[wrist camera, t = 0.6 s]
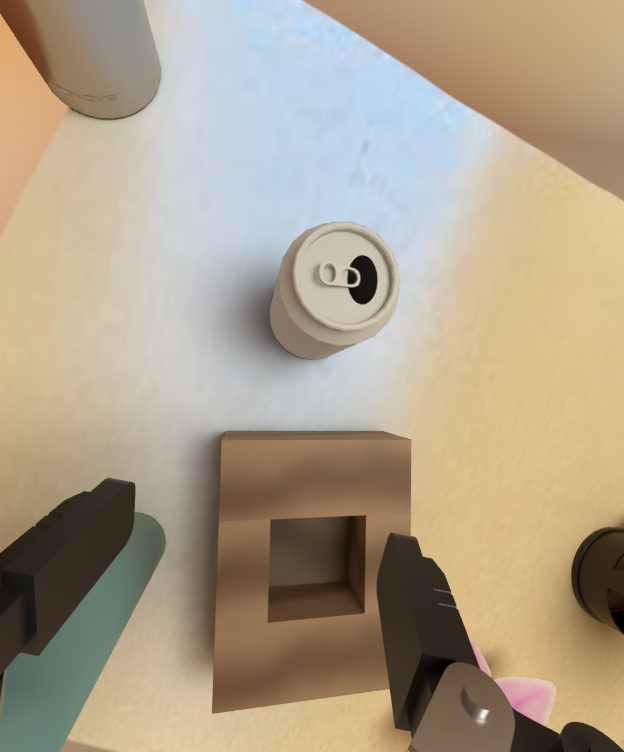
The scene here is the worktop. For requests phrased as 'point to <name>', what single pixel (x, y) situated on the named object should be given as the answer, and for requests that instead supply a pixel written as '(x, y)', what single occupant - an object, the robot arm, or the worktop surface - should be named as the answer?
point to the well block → (304, 563)
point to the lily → (523, 691)
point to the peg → (77, 650)
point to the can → (333, 290)
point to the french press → (600, 575)
